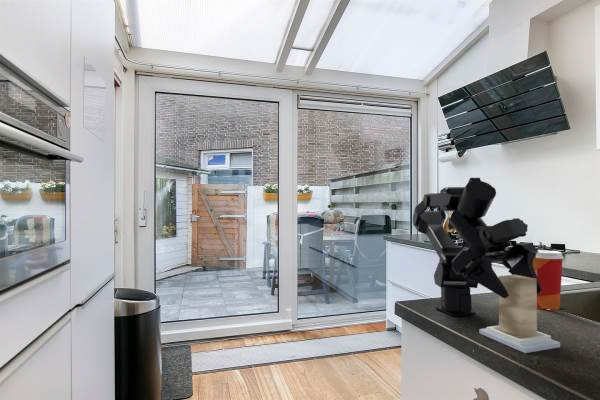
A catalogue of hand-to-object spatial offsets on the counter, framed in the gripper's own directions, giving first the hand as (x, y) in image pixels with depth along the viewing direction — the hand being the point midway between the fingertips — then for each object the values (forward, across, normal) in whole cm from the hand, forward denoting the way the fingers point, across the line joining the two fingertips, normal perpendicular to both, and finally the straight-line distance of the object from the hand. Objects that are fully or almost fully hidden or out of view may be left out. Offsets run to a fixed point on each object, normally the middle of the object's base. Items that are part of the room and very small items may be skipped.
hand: (523, 294), depth 66 cm
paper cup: (-3, +27, +16) cm, 31 cm away
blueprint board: (+5, 0, +7) cm, 9 cm away
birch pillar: (+5, 0, +7) cm, 8 cm away
